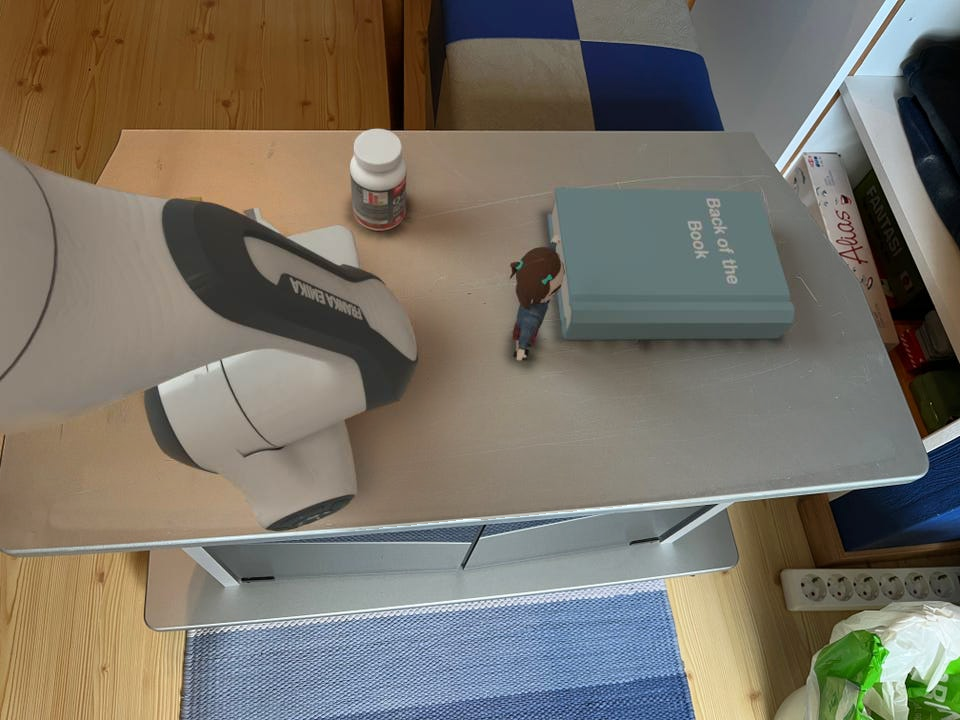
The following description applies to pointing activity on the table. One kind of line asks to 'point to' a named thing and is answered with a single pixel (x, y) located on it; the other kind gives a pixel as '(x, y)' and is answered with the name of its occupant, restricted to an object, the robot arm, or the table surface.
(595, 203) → the book
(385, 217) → the pill bottle
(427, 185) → the table surface
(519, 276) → the toy
